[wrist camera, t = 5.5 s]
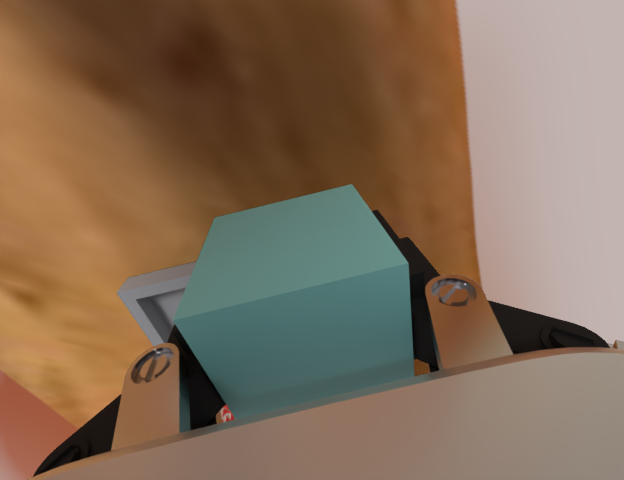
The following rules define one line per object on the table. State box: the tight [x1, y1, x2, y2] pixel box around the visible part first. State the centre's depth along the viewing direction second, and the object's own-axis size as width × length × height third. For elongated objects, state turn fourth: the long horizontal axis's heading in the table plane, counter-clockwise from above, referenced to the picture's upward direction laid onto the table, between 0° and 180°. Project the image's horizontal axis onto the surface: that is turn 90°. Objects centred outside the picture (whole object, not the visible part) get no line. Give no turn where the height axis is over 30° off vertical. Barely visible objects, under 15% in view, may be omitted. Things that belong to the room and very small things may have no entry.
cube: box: [173, 184, 414, 419], centre depth 9 cm, size 5×5×5 cm
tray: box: [117, 261, 197, 346], centre depth 27 cm, size 13×13×2 cm
